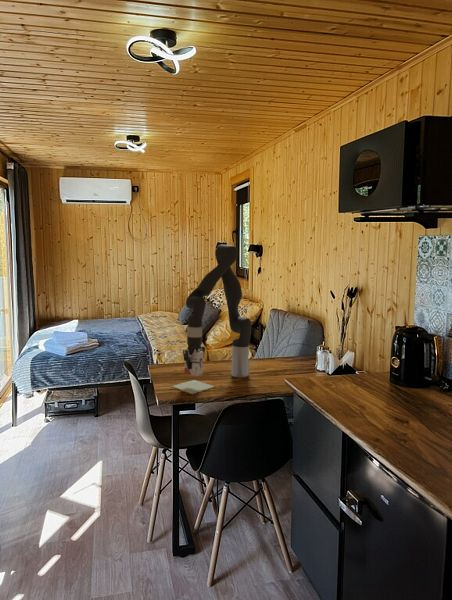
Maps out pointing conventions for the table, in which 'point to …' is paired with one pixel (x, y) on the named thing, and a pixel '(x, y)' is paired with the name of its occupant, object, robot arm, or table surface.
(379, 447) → the table surface
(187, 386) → the mat
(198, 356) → the ink box
